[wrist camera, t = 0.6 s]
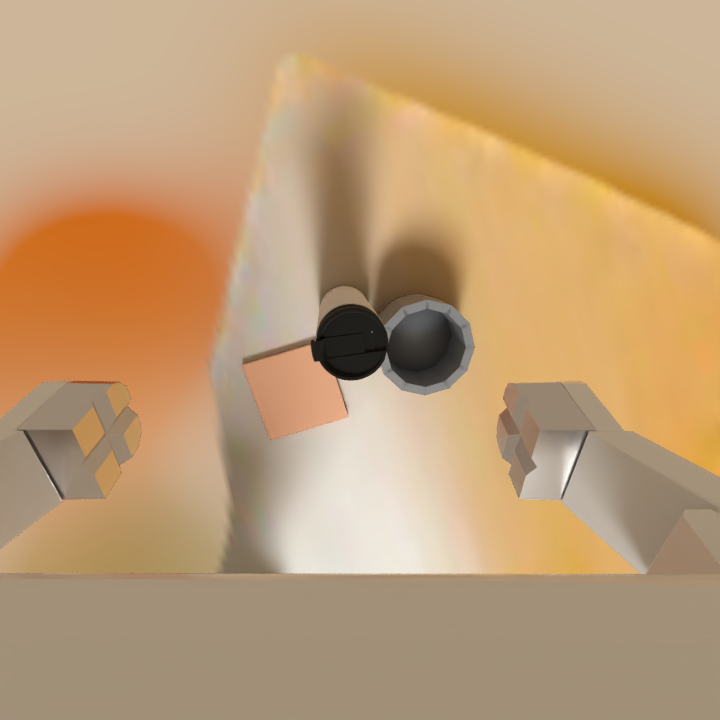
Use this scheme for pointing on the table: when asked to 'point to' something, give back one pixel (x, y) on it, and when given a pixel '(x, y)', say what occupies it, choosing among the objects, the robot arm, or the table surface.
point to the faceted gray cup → (425, 344)
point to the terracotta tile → (294, 392)
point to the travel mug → (349, 335)
